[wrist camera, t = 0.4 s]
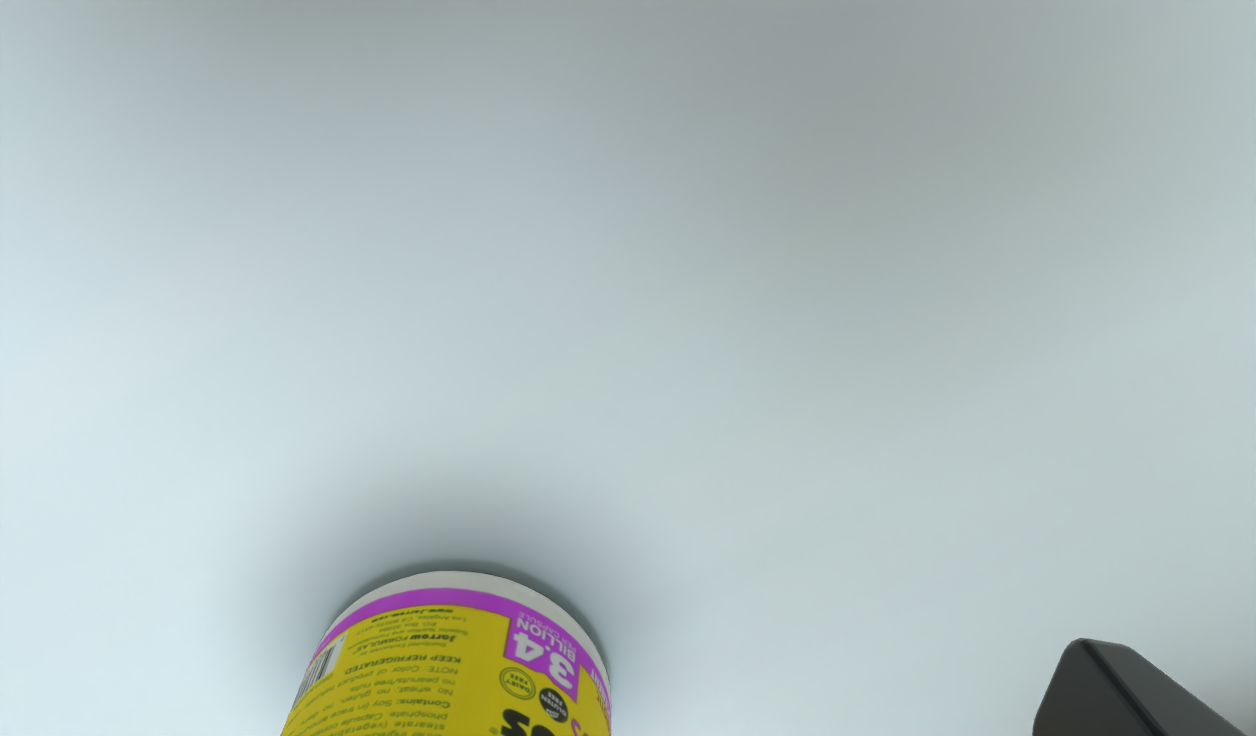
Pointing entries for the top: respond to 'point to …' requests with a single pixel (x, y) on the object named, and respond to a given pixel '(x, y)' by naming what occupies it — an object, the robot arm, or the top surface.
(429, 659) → the supplement bottle
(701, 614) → the top surface
